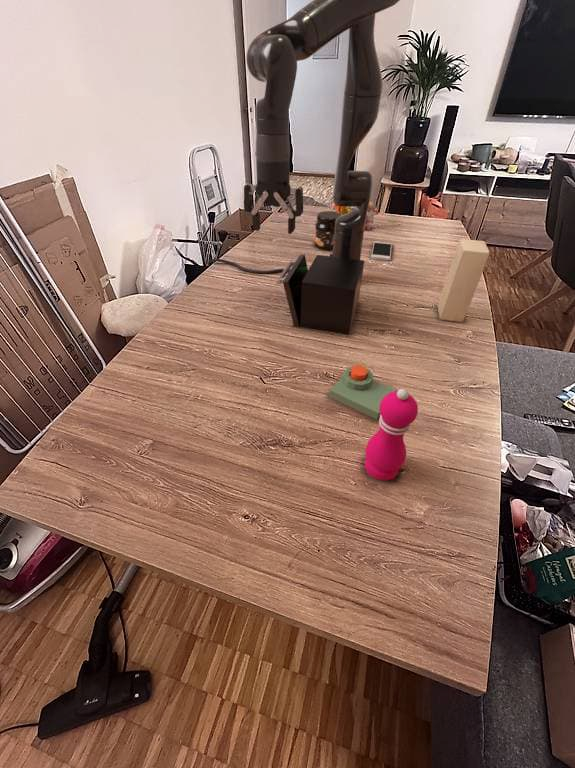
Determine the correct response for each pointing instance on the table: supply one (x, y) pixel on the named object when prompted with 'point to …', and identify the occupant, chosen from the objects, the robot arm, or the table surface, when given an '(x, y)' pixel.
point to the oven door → (294, 286)
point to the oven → (331, 294)
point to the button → (358, 373)
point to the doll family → (345, 210)
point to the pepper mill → (390, 435)
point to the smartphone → (381, 250)
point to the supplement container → (325, 229)
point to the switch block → (360, 393)
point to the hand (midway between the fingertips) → (273, 231)
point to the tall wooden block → (462, 279)
